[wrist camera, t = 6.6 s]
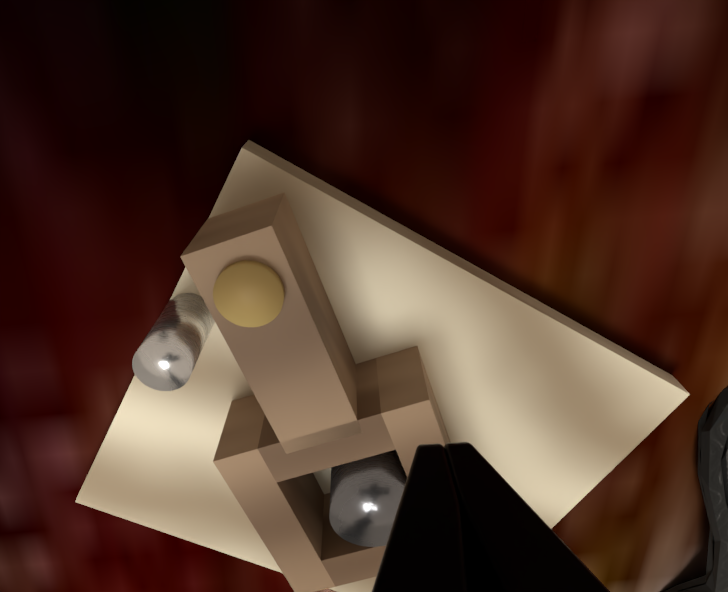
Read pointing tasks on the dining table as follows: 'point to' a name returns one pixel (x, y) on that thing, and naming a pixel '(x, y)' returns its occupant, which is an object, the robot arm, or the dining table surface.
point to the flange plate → (300, 392)
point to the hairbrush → (713, 496)
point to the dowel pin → (174, 343)
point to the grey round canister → (366, 498)
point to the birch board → (378, 338)
